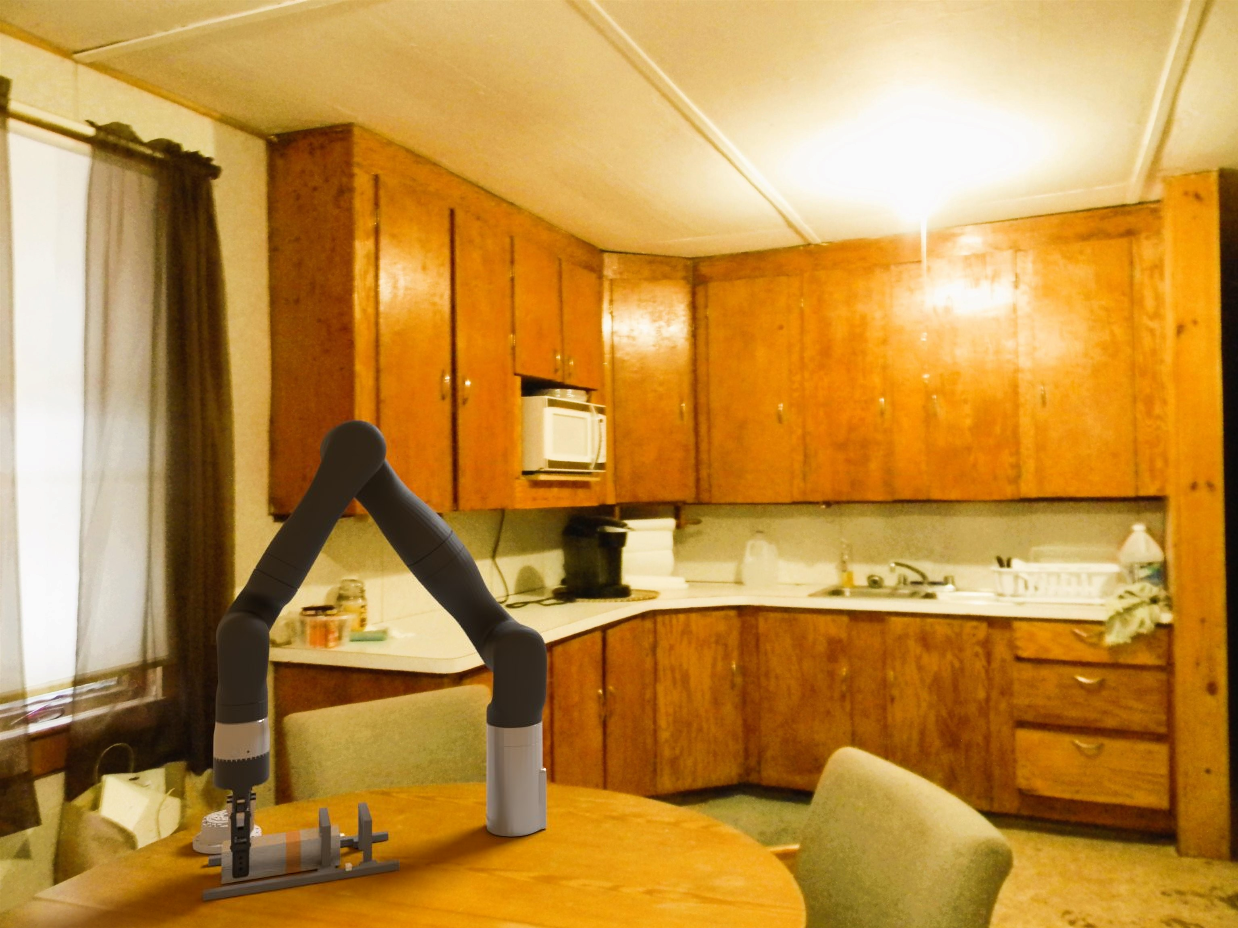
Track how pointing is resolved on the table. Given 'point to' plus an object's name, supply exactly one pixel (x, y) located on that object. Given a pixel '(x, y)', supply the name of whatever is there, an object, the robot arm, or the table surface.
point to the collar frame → (326, 871)
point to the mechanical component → (215, 833)
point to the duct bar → (282, 853)
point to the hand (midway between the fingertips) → (241, 869)
